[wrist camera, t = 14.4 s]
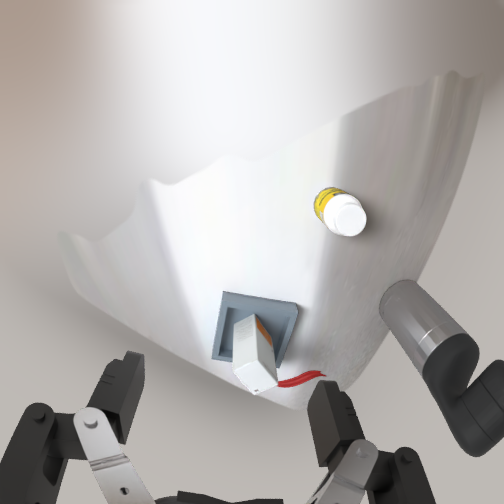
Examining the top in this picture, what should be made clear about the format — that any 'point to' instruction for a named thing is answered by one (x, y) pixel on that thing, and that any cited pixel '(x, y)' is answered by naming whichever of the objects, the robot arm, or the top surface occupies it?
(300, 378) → the cayenne pepper
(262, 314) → the tray
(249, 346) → the skincare box
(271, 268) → the top surface
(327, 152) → the top surface
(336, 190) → the supplement bottle
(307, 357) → the top surface
